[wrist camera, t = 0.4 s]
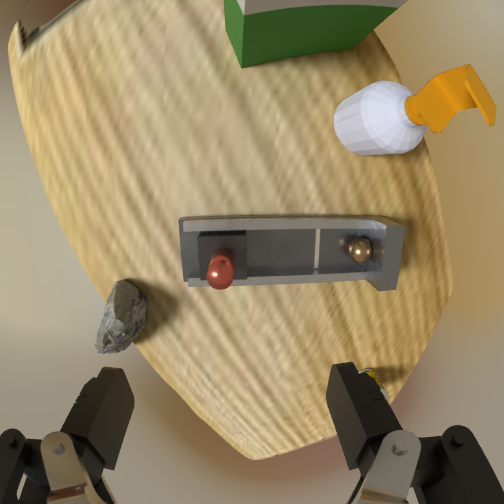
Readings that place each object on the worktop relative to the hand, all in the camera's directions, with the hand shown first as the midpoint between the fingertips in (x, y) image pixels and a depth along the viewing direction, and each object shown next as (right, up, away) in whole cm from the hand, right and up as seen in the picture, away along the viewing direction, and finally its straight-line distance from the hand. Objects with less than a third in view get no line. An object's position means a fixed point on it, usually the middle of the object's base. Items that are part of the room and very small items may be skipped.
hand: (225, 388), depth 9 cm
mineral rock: (-21, -5, +32) cm, 39 cm away
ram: (-3, +5, +28) cm, 29 cm away
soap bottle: (+17, +24, +26) cm, 39 cm away
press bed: (+6, +6, +30) cm, 31 cm away
